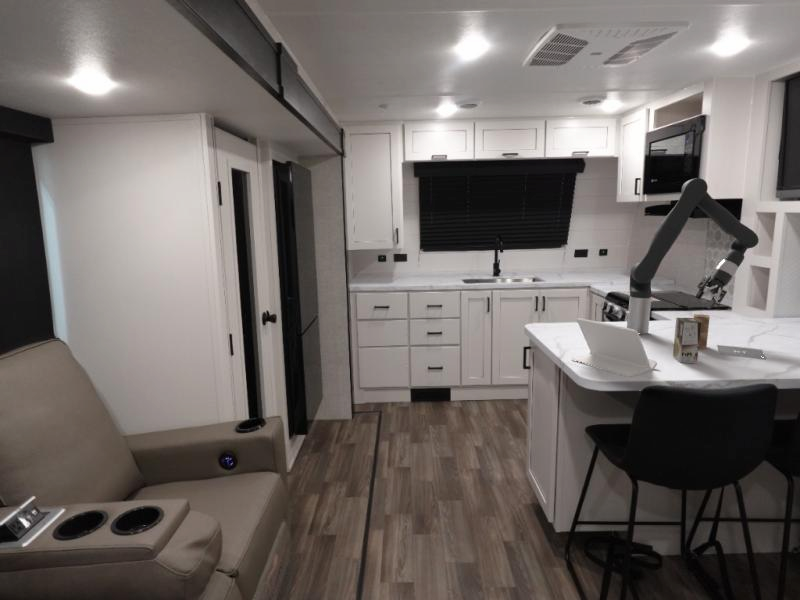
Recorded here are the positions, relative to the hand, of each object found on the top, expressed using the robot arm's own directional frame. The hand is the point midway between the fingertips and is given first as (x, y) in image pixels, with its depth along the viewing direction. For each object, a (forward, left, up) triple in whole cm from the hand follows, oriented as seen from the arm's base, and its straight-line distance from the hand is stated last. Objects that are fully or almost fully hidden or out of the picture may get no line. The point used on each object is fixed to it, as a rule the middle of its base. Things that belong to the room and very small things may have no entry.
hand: (702, 303), depth 227 cm
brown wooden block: (0, -15, -17) cm, 23 cm away
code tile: (+15, -15, -17) cm, 27 cm away
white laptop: (-29, -56, -17) cm, 66 cm away
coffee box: (-5, -37, -17) cm, 41 cm away
